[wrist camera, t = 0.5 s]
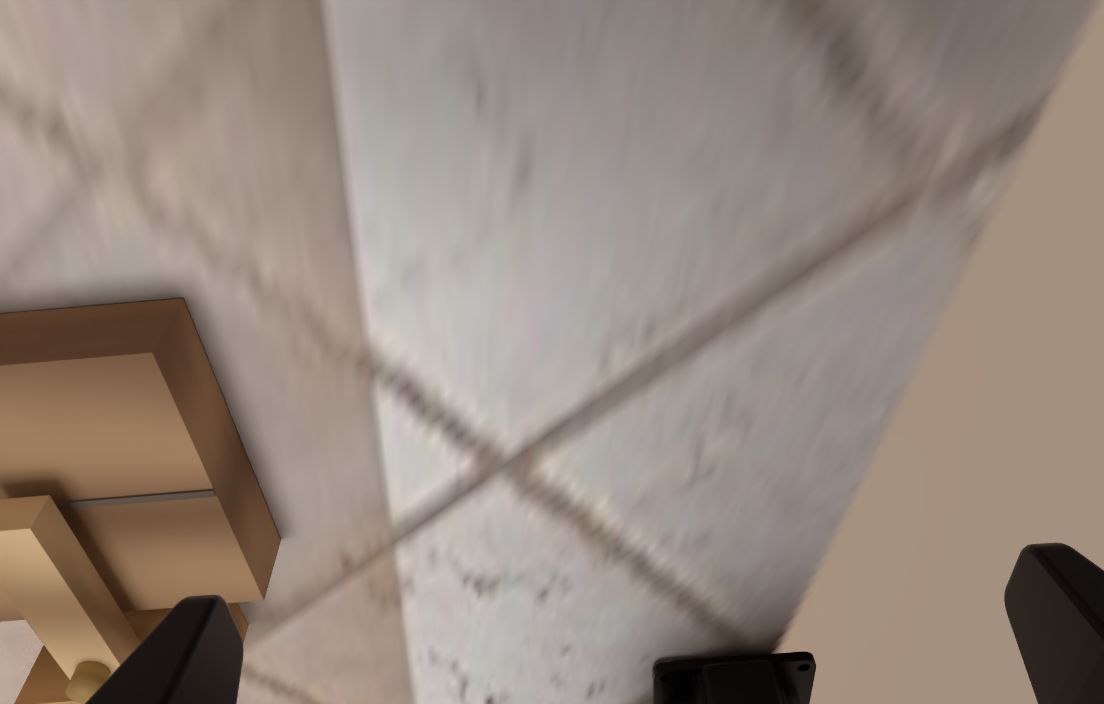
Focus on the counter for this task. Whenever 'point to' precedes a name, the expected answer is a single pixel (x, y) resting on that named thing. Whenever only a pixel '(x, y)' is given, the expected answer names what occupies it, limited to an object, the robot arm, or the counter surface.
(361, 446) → the counter surface
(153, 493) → the plank
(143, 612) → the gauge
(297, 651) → the counter surface
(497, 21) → the counter surface
